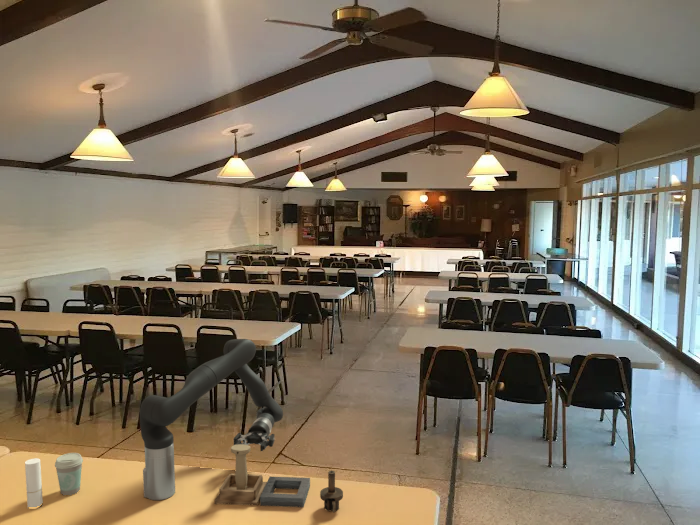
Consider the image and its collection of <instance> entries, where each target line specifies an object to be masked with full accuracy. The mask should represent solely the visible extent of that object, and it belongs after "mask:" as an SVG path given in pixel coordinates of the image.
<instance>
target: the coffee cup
mask: <svg viewBox="0 0 700 525" xmlns="http://www.w3.org/2000/svg"><path fill="white" fill-rule="evenodd" d="M83 461H84V460H83V457H82V455H81V454H80V453H78V452H68V453H65V454H62V455H59V456H58V457H57V458H56V460H55V461H54V462H55V463H54V467H55V468H56V469H55V470H56V476H57V481H58V486H59V492H60V494H63V495H62V496H64V495H70V496H73V495H72V494H74V495H76V494H77V492H78V491H79V490H81V480H82V468H83V466H82V465H83ZM79 492H80V491H79ZM79 492H78V493H79ZM75 493H76V494H75Z"/></svg>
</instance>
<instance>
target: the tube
mask: <svg viewBox="0 0 700 525" xmlns="http://www.w3.org/2000/svg"><path fill="white" fill-rule="evenodd" d="M24 464H25V465H24V468H25V469H24V471H25V484H26V501H27V502H26V503H27V508H28V507H37V506H40V505H41V504H42V503H43V484H42V468H41V459H40V458H37V457H35V458H29V459H27V460H25V462H24ZM43 504H44V503H43Z"/></svg>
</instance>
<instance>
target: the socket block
mask: <svg viewBox="0 0 700 525" xmlns="http://www.w3.org/2000/svg"><path fill="white" fill-rule="evenodd" d="M266 482H267V483H266V485H265V488H264V490H263V492H262V494H261V496H260V501H259V504H260V507H261V506H262V507H264V506H265V507H283V508H284V507H286V508H288V507H289V508H304V507H305V504H306V501H307V497H308V495H309V490H310V487H311V478H310V477H299V476H298V477H297V476H296V477H295V476H291V477H290V476H269V478H268V480H267V481H266ZM279 489H280V490H281V489H282V490H297V493H278V492H277V493H275V490H279Z"/></svg>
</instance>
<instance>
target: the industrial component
mask: <svg viewBox="0 0 700 525" xmlns="http://www.w3.org/2000/svg"><path fill="white" fill-rule="evenodd" d="M327 474H328V476H327V479H328V480H327V481H328V486H327V487H324V488H322V489H321V490H320V491H319V492H320V494H319V498H320V499H321V501H323V502H324V503H323V505H324V506H323V508H324V510H325V511H327V512H328V513H329V512H330V511H332V513H334V512H336V511H337V510H339V509H340V501H341V500H343V497H344V491H343V489H342V488H340V487H338V486H336V471H335V470H328V472H327Z"/></svg>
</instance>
